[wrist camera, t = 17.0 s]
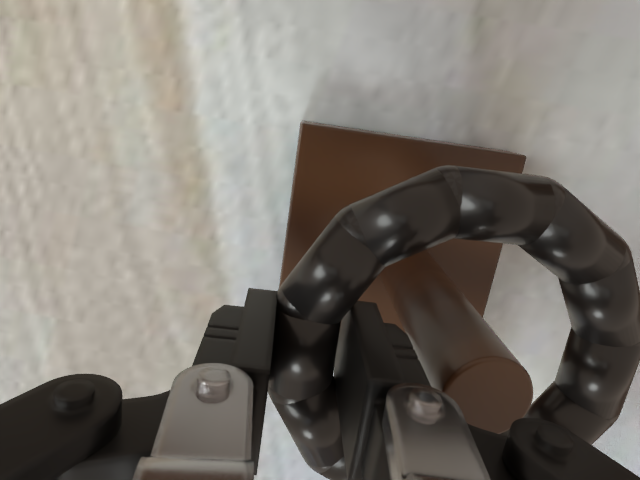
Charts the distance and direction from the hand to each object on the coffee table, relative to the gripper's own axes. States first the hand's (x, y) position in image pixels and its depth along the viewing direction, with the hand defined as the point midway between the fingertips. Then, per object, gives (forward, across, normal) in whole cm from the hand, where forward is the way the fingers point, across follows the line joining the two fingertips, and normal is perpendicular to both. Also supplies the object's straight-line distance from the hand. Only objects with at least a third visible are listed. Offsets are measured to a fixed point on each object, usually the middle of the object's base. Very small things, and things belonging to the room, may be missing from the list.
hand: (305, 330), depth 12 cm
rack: (+9, -4, 0) cm, 10 cm away
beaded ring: (0, -4, 0) cm, 4 cm away
